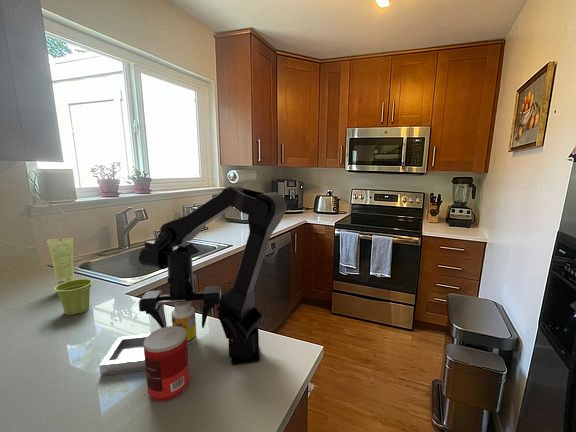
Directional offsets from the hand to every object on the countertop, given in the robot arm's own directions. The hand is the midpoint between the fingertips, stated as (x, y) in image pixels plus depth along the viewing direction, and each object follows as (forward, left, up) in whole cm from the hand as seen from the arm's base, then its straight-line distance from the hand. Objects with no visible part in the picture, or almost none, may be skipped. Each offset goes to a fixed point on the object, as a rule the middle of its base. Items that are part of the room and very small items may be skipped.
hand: (184, 329), depth 72 cm
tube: (+48, -41, -3) cm, 63 cm away
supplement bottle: (0, 0, -3) cm, 3 cm away
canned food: (+1, +16, -3) cm, 16 cm away
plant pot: (+36, -23, -3) cm, 43 cm away
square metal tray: (+10, +5, -3) cm, 12 cm away
